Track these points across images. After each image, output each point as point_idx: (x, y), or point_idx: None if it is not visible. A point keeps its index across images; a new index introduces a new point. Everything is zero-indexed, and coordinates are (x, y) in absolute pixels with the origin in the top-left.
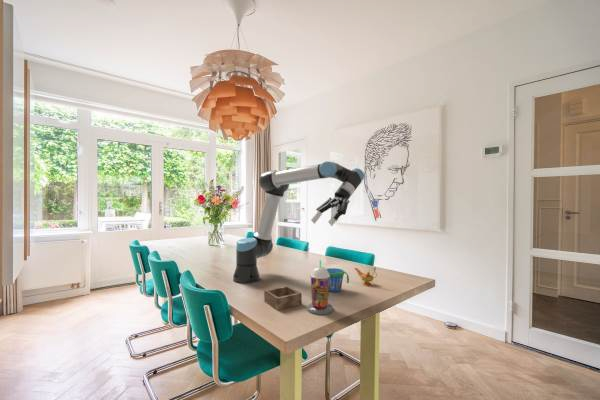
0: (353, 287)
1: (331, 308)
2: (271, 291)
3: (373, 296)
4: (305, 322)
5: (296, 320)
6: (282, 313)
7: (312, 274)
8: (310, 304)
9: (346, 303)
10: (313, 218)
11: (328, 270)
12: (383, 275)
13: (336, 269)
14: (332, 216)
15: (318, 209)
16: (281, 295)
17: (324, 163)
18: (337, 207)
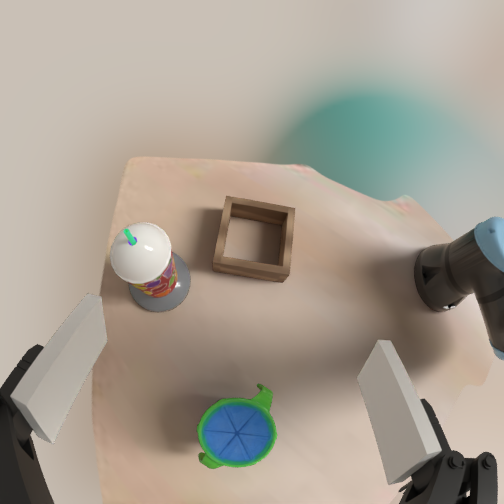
0: (210, 476)
1: (134, 293)
2: (286, 224)
3: (125, 450)
4: (142, 213)
5: (160, 207)
6: (205, 207)
7: (150, 224)
8: (186, 275)
9: (138, 360)
10: (384, 360)
11: (261, 429)
12: None
13: (248, 457)
14: (60, 346)
15: (458, 463)
16: (280, 258)
17: None
18: (27, 502)
